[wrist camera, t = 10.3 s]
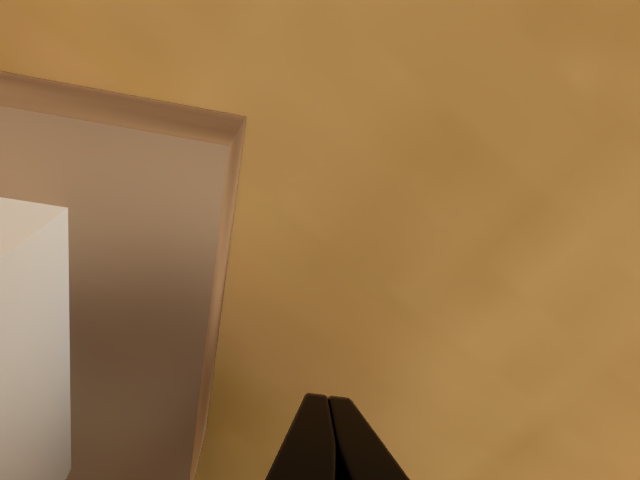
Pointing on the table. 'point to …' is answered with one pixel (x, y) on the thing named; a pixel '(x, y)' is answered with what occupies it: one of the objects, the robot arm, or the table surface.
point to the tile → (34, 342)
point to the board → (131, 261)
